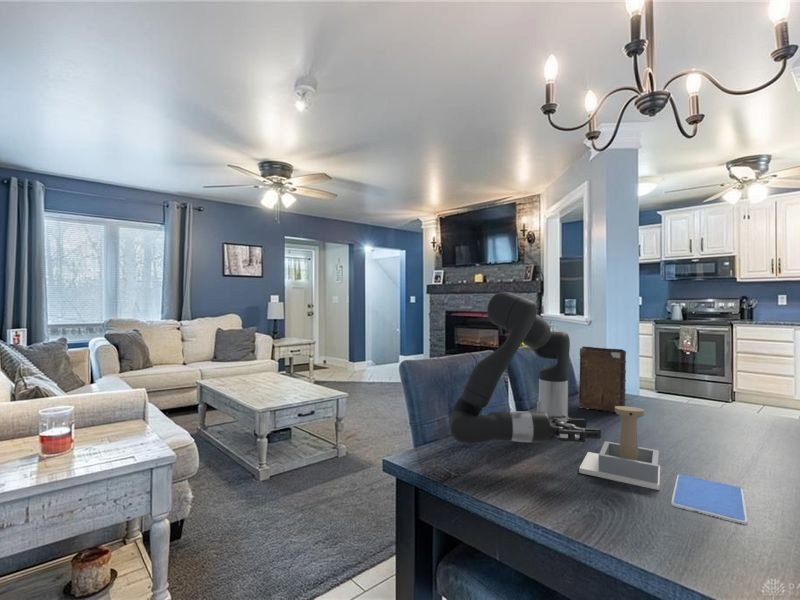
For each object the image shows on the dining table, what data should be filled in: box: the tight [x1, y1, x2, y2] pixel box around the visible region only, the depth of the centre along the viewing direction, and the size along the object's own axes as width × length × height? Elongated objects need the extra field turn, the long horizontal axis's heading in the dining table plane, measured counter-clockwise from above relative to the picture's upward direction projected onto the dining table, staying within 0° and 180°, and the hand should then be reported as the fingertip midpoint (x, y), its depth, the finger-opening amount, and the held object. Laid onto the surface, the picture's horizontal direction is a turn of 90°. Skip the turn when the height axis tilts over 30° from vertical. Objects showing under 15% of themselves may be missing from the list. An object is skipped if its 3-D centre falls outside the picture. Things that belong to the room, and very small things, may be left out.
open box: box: [578, 440, 661, 491], centre depth 104 cm, size 17×14×5 cm
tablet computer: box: [670, 474, 749, 525], centre depth 90 cm, size 19×13×1 cm, turn 142°
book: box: [578, 346, 627, 413], centre depth 165 cm, size 17×7×25 cm, turn 54°
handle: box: [615, 405, 645, 461], centre depth 103 cm, size 5×6×15 cm
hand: (592, 428), depth 104 cm, fingers open, 8 cm apart
